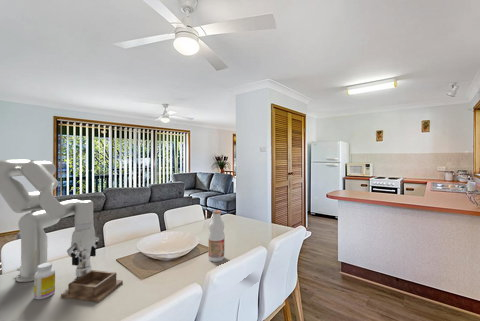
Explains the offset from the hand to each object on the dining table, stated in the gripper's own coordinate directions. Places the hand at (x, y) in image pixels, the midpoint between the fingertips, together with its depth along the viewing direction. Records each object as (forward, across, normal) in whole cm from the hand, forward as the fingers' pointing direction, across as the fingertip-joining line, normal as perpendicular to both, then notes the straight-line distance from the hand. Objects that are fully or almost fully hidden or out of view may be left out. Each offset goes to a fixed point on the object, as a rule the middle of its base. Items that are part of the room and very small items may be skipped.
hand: (84, 260), depth 109 cm
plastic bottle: (+8, 0, 0) cm, 8 cm away
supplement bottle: (+8, +16, -3) cm, 18 cm away
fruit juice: (+9, -31, +59) cm, 67 cm away
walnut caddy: (+8, +9, +14) cm, 18 cm away
